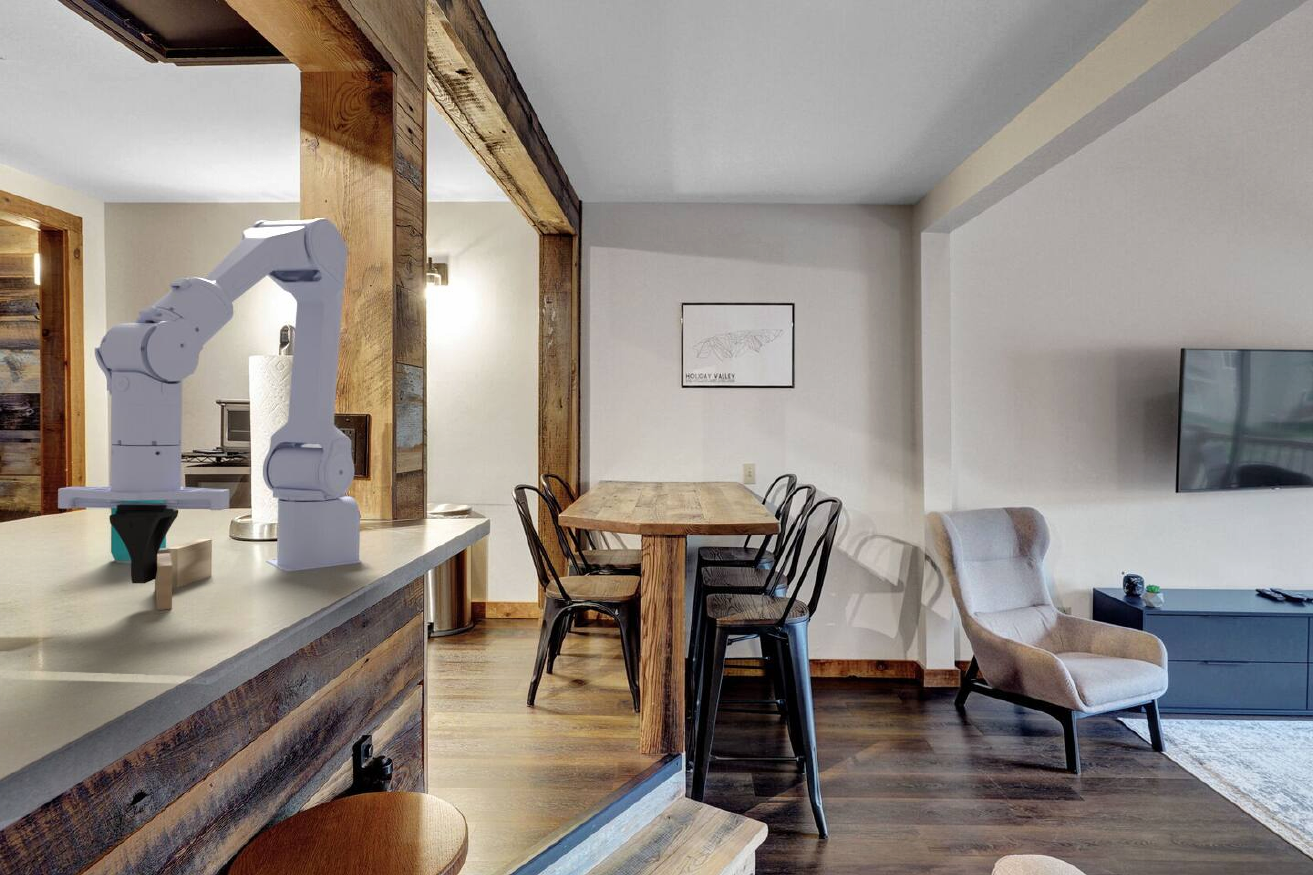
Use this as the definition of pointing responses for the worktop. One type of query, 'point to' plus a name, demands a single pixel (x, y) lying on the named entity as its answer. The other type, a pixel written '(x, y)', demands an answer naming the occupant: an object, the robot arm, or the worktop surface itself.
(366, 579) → the worktop surface
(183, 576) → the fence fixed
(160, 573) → the fence panel
